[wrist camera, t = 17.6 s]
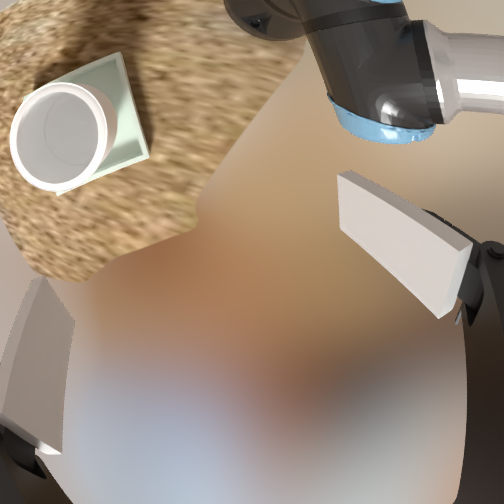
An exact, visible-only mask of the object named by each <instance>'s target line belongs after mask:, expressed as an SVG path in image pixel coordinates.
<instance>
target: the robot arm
mask: <svg viewBox="0 0 504 504" xmlns="http://www.w3.org/2000/svg"><path fill="white" fill-rule="evenodd" d="M224 5H225V8H226V10H227V12H228V14H229V15H230V17H231V18H232V20H233V21H234V22H235V23H236V24H237V25H238V26H239V27H240V28H242V29H243V30H244V31H246V32H248V33H249V34H251V35H253V36H256V37H258V38H261V39H265V40H271V41H286V40H291V39H294V38H298V37H301V36H303V35H305V34H306V36H307V38H308V41H309V43H310V45H311V48H312V50H313V53H314V56H315V58H316V61H317V63H318V66H319V69H320V72H321V74H322V77H323V79H324V83H325V86H326V89H327V91H328V92H327V96H328V98H329V100H330V102H331V103H332V104H333V107H334V109H335V112H336V114H337V117H338V120H339V122H340V124H341V125H342V126H343V127H344V128H345V129H346V130H348V131H349V132H350V133H351V134H353V135H355V136H357V137H359V138H362V139H365V140H368V141H373V142H379V143H387V144H407V143H411V142H412V140H414V141H418V142H419V141H422V140H425V139H427V138H428V137H429V136H431V135H432V134H433V132H434V129H435V127H436V124H449V123H450V122H451V121H452V120H453V118H454V117H455V116H456V115H457V114H458V113H459V112H461V111H469V112H482V113H493V114H502V115H504V36H499V35H488V34H473V33H447V32H443V31H442V30H440V29H439V28H438V27H436V26H435V25H433V24H432V23H430V22H429V21H428V20H415V21H411V20H409V17H408V14H407V12H406V9H405V6H404V3H403V1H402V0H224ZM369 20H370V21H369ZM363 21H364V22H363ZM357 22H358V23H357ZM337 26H338V27H337ZM328 28H329V29H328ZM319 30H320V31H319ZM312 32H313V33H312ZM337 181H338V197H339V216H340V229H341V230H342V231H343V232H345V233H346V234H347V235H348V236H349V237H350V238H352V239H353V240H354V241H355V242H357V244H359V245H360V246H361V247H362V248H363V249H364V250H366V251H367V252H368V253H369V254H370V255H372V256H373V257H374V258H375V259H376V260H377V261H378V262H379V263H381V265H383V266H384V267H385V268H386V269H387V270H388V271H389V272H390V273H391V274H392V275H393V276H395V277H396V278H397V279H398V280H399V281H400V282H401V283H402V284H403V285H404V286H405V287H406V288H407V289H408V290H410V291H411V292H412V293H413V294H414V295H415V296H416V297H417V298H418V299H419V300H420V301H421V302H422V303H423V304H424V305H425V306H426V307H427V308H428V309H429V310H430V311H431V312H432V313H433V314H434V315H435V316H436V317H437V318H438V319H439V318H441V317H442V316H444V315H445V314H446V313H448V312H449V311H451V310H452V309H453V307H454V304H455V301H456V298H457V296H458V297H459V298H460V299H461V300H462V304H461V307H460V309H459V312H458V314H457V317H456V319H455V324H458V322H459V319H460V317H461V316H462V323H461V325H463V331H464V340H465V352H466V369H467V423H466V437H465V449H464V459H463V467H462V473H461V479H460V485H459V490H458V495H457V498H456V500H455V502H454V503H453V504H504V245H502V244H501V243H499V242H495V241H486V242H483V243H482V244H480V243H479V242H477V241H476V240H475V239H473V238H472V237H470V236H469V235H467V234H466V233H464V232H463V231H461V230H460V229H458V228H457V227H455V226H452V224H451V223H449V222H448V221H446V220H445V221H444V219H443V218H441V217H440V216H438V215H437V214H435V213H433V212H430V211H427V210H424V209H420V208H419V207H417V206H415V205H414V204H412V203H410V202H409V201H407V200H405V199H404V198H402V197H400V196H398V195H397V194H395V193H393V192H391V191H389V190H387V189H386V188H384V187H382V186H380V185H379V184H377V183H375V182H373V181H371V180H369V179H367V178H365V177H363V176H362V175H359V174H358V173H356V172H354V171H352V170H351V171H347V172H343V173H339V174H337ZM74 326H75V320H74V319H73V317H72V316H71V314H70V313H69V312H68V310H67V309H66V307H65V306H64V304H63V303H62V302H61V300H60V299H59V297H58V296H57V294H56V293H55V291H54V290H53V288H52V287H51V285H50V284H49V282H48V280H47V279H46V277H45V276H44V275H43V276H41V277H38V278H36V279H34V280H32V281H31V283H30V285H29V288H28V290H27V292H26V294H25V297H24V299H23V301H22V304H21V306H20V309H19V311H18V314H17V316H16V319H15V321H14V324H13V327H12V330H11V333H10V335H9V338H8V341H7V344H6V347H5V351H4V353H3V357H2V360H1V363H0V504H73V503H72V502H71V501H70V499H69V498H68V497H67V495H66V494H65V493H64V491H63V490H62V489H61V487H60V486H59V484H58V483H57V482H56V480H55V479H54V477H53V476H52V474H51V473H50V472H49V470H48V469H47V467H46V466H45V464H44V462H43V461H42V460H41V459H40V457H39V456H37V455H35V448H37V449H38V450H40V451H42V452H44V453H45V454H48V455H49V454H62V430H63V410H64V397H65V386H66V377H67V369H68V362H69V355H70V348H71V342H72V336H73V331H74Z"/></svg>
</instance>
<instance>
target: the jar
mask: <svg viewBox="0 0 504 504" xmlns="http://www.w3.org/2000/svg"><path fill="white" fill-rule="evenodd" d="M116 134H117V113H116V110H115V107H114V106H113V104H112V103H111V101H110V100H109V98H108V97H107V96H106V95H105V94H104V93H103V92H101V91H100V90H98V89H96V88H94V87H92V86H89V85H85V84H72V83H63V82H62V83H53V84H49V85H46V86H44V87H42V88H40V89H38V90H36V91H35V92H33V93H32V94H31V95H30V96H29V97H28V98H27V99H26V100H25V101H24V102H23V103H22V105H21V106H20V108H19V109H18V111H17V113H16V115H15V117H14V120H13V123H12V126H11V131H10V150H11V155H12V159H13V161H14V164H15V166H16V168H17V170H18V171H19V173H20V174H21V175H22V176H23V177H24V178H25V179H26V180H27V181H28V182H29V183H30V184H32V185H33V186H35V187H37V188H39V189H42V190H46V191H52V192H59V191H66V190H69V189H72V188H74V187H77V186H78V185H80V184H82V183H83V182H84V181H86V180H87V179H88V178H89V177H90V176H91V175H92V174H93V173H94V172H95V171H96V170H97V168H98V167H99V165H100V164H101V163H102V162H103V161H104V159H105V158H106V157H107V155H108V154H109V152H110V151H111V149H112V147H113V144H114V142H115V139H116Z"/></svg>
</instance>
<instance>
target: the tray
mask: <svg viewBox="0 0 504 504" xmlns="http://www.w3.org/2000/svg"><path fill="white" fill-rule="evenodd" d="M62 82H63V83H72V84H85V85H89V86H92V87H94V88H96V89H98V90H100V91H101V92H103V93H104V94H105V95H106V96H107V97H108V98H109V100H110V101H111V103H112V104H113V106H114V107H115V110H116V113H117V134H116V139H115V142H114V144H113V147H112V149H111V151H110V152H109V154H108V155H107V157H106V158H105V159H104V161H103V162H102V163H101V164H100V165H99V167H98V168H97V170H96V171H95V172H94V173H93V174H92V175H91V176H90V177H89V178H88V179H87V180H86V181H84V182H83V183H82V184H80V185H78V186H81V185H83V184H85V183H87V182H90V181H92V180H94V179H97V178H99V177H101V176H104V175H106V174H108V173H111V172H113V171H116V170H118V169H121V168H123V167H126V166H129V165H131V164H134V163H137V162H139V161H142V160H145V159H147V158H150V151H149V148H148V145H147V141H146V138H145V135H144V132H143V128H142V125H141V121H140V118H139V115H138V111H137V108H136V104H135V101H134V97H133V93H132V90H131V86H130V82H129V78H128V75H127V71H126V67H125V63H124V59H123V55H122V54H121V52H120V51H119V52H117V53H114V54H111V55H109V56H106V57H104V58H101V59H99V60H96V61H94V62H91V63H89V64H87V65H85V66H82V67H80V68H78V69H76V70H74V71H71V72H69V73H67V74H65V75H63V76H61V77H59V78H57V79H55V80H53V81H51V82H50V83H48V84H46V85H49V84H53V83H62ZM46 85H44V86H46ZM44 86H42V87H44ZM42 87H40V88H42ZM40 88H39V89H40ZM37 90H38V89H37ZM35 91H36V90H35ZM35 91H33V92H35ZM33 92H32V93H33ZM32 93H30V94H28V95H27V96H25V97H23V100H24V101H25V100H26V99H27V98H28V97H29V96H30V95H31V94H32ZM78 186H77V187H78ZM74 188H76V187H74ZM74 188H72V189H74ZM72 189H69V190H66V191H59V192H56V195H57V196H59V195H61V194H63V193H65V192H68V191H70V190H72Z"/></svg>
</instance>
